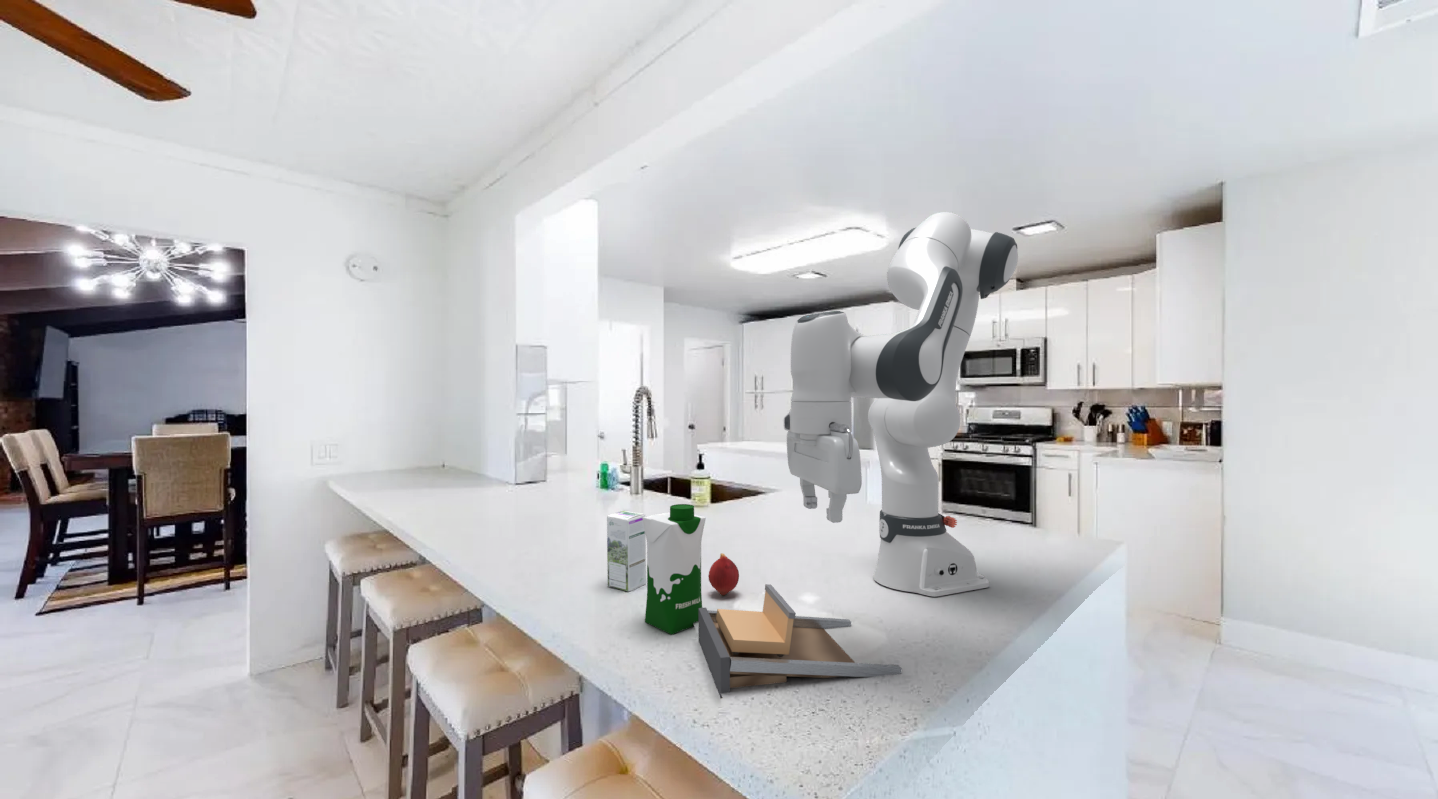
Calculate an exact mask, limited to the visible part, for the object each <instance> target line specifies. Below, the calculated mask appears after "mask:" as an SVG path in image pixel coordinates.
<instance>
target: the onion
mask: <svg viewBox="0 0 1438 799" xmlns="http://www.w3.org/2000/svg"><path fill="white" fill-rule="evenodd" d="M739 578H740V573H739V569H738V567H737V565H736V563H735V562H733V561H732V560H731V559H730V558H729V557H727V556H726V554H725V553H720V554H719V558H718V559H717V560H716V561H714V562H713V563H712V564H711V566H710V569H709V571H708V582H709V584H710V585H711V586H712V588H714V590H716V592H718V594H719V595H721V596H725V595H727V594H729V593H730V592H732V591H733V590H734V589H736V587H737V585H738V583H739Z"/></svg>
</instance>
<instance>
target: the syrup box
mask: <svg viewBox="0 0 1438 799" xmlns="http://www.w3.org/2000/svg"><path fill="white" fill-rule="evenodd" d="M642 517H646V514H645V513H641V512H635V511H628V510H622V511H621V510H620V511H617V512H614V513H611V514H609V515H606V546H607V548H606V550H607V552H606V554H607V560H606V561H607V562H606V563H607V566H606V567H607V569H606V570H607V587H608V588H613V589H616V590H621V591H625V592H631V591H634V590H637V589H639V588H640V587H643V586H645V585H647V539H646V534H645V529H644V524H643V518H642Z"/></svg>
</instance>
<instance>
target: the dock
mask: <svg viewBox="0 0 1438 799" xmlns="http://www.w3.org/2000/svg"><path fill="white" fill-rule="evenodd" d="M716 615H717V610H708V608H707V607H702V608H698V621H697V622H698V643H699V646H700V649H701V651H702V654H703V656H704V660H705V661H706V662H705V663H706V664H707V667H708V670H709V672H710V674H711V677H712V680H713V682H714V685H715V689H716V690H717V692H718V695H719V698H720V699H723V695H722V694H726V693H730V692H731V689H733V688H734V689H735V688H744V687H751V686H752V687H753V686H762V685H773V684H781V683H787V677H793V678H794V677H797V678H798V677H799V678H818V679H819V678H821V679H827V678H837V677H853V678H855V677H856V678H857V677H858V678H859V677H860V678H873V677H874V678H875V677H882V676H883V677H884V676H891V675H892V676H893V675H901V674H902V667H901V666H900V665H899V664H890V663H889V664H887V663H884V664H883V663H871V662H870V663H866V662H865V663H864V662H855V660H853V659H852V658H851V656H850V655H849V654H848V653H847V652H846V651H845V650H844V649H843V648H842V647H841V645H839V643H838V642H837V641H836V640H835V639H834V638H833V637H832V636H831V635H830V633H828V632H827V630H825V629H834V628H835V629H836V628H846V627H852V621H851V620H850V619H847V618H846V619H845V618H832V617H817V616H802V615H795V619H794V621H793V628H792V635H791V643H790V650H789V655H788V654H784V656H783V657H778V656H777V655H776V654H767V653H747V652H739V654H738V655H733V654H732V652H731V649H730V647H729V645H728V643H727V641H726V639H725V637H724V635H723V633H722V631H721V629H720V628H719V626H718V623H717V621H716Z"/></svg>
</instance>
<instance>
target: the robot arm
mask: <svg viewBox="0 0 1438 799" xmlns="http://www.w3.org/2000/svg"><path fill="white" fill-rule="evenodd" d="M1018 262H1019V252H1018V244H1017V242H1016V240H1015V239H1014V238H1013V236H1009V234H1008V235H1007V234H1005V233H1001V232H999V231H996V232H989V231H985V230H982V229H974V228H971V226H970V225H969V223H968V222H967V220H965V218H963V217H962V216H961V215H959V214H957V213H954V212H951V211H941V212H940V211H939V212H936V213H933V214H931V215H930V216H928V217H927V218H926V219H924V220H923V221H921V223H919V224H918V226H916V227H913V228H911V229H910V230H908V231H907V232H906V233H905V234H904V235H903V236H902V238H901V240H900V242H899V244H898V248H897V251H896V252H895V254H894V255H893V256H892V258H891V260H890V263H889V264H888V267H887V271H886V278H887V279H886V282H887V285H888V287H889V289H890V291H891V293H892V294H893V297H895V298H896V299H897V300H898V301H899V302H900V303H901V304H903V305H904V306H906V307H908V308H910V309H912V310H915V311H916V310H917V314H916V316H915V319H914V321H913V324H912V325H911V326H909V327H908V328H905V329H903V330H901V331H897V332H891V333H884V334H883V333H882V334H874V335H864V334H863V333H861V332H859V331H857V330H856V329H855V328H854V327H853V326H852V325H850V324H849V322H848V316H847V314H846V312H844V311H841V310H830V311H824V312H817V313H811V314H807V315H803V316H801V317H800V318H798V319H797V320H796V321H795V324H794V326H793V330H792V335H791V336H792V337H791V346H790V375H791V378H792V383H793V387H792V388H793V390H792V394H791V398H790V410H789V412H788V413H787V414H786V415H785V416H784V417H783V429H784V430H785V431H787V433H786V453H787V454H786V456H787V464H788V469H789V473H790V474H791V475H792V476H794V477H797V478H799V485H800V489H801V492H802V497H803V498H802V499H803V501H802V502H803V506H804V507H805V508H806V509H808V510H813V509H817V508H818V496H817V495H816V489H815V488H816V487H815V486H817V487H819V488H821V489H824V490H826V491H828V499H829V504H828V507H827V508H826V520H827V521H829V522H831V523H833V524H834V523H836V524H837V523H842V521H843V510H844V509H845V508H844V507H845V505H846V502H847V498H848V497H847V495H853V494H854V495H855V494H859V493H860V492H861V491H860V490H861V488H862V484H863V483H862V482H863V481H862V478H863V476H862V464H861V453H860V447H859V442H858V440H857V439H856V438H855V437H854V434H853V433H852V432H853V430H852V429H853V428H852V427H853V424H852V423H853V422H852V418H853V417H852V416H853V415H852V414H853V410H852V409H853V404H852V398H857V399H858V398H860V399H861V398H862V399H863V398H864V399H875V400H874V401H873V402H872V403H871V404H870V406H869V408H868V413H867V422H868V424H869V426H870V428H871V430H872V431H873V435H874V440H875V445H876V450H877V455H878V459H879V466H880V472H881V510H880V511H879V521H878V522H879V526H878V528H879V530H878V531H879V538H880V542H879V552H878V558H877V561H876V565H875V566H876V567H875V570H874V573H873V576H872V577H873V578H872V579H873V580H874V581H875V582H877V583H878V584H880V585H881V586H884V587H887V588H890V589H892V590H893V589H894V590H897V591H902V592H909V593H916V594H920V595H924V596H929V597H933V598H934V597H935V598H936V597H942V596H947V595H952V594H953V595H954V594H959V593H964V592H969V591H973V590H981V589H985V588H986V589H987V588H989V587H990V581H989V579H988V578H987V577H986V576H984V575H983V574H981V573H980V572H978V571H977V564H976V560H975V556H974V554H973V553H972V551H971V550H970V549H969V548H967V546H965V545H963V544H962V543H961V542H960V541H959V540H957V539H956V538H955V537H954V536H952V535H951V534H950V533H948V532H947V531H948V529H947V528H946V527H949V528H951V529H953V528H955V527H956V526H957V525H958V520H957V519H956V518H955V517H951V516H949V515H948V516H944V515H943V514H941V513H940V512H939V488H940V486H939V475H938V471H937V470H936V468H935V467H934V465H933V462H932V460H931V456H930V452H929V448H935V447H938V446H939V447H940V446H942V445H945V444H948V443H949V442H951V441H952V440H953V439H955V437H956V436H957V434H958V432H959V429H960V427H961V414H960V411H959V409H958V407H957V404H956V392H957V391H956V390H957V389H956V388H957V380H958V374H959V370H960V367H961V365H962V361H963V358H964V355H965V352H966V349H967V346H968V345H969V341H970V338H971V335H972V332H973V329H974V326H975V322H976V319H977V314H978V313H977V312H978V308H979V301H980V300H983V299H986V298H988V297H989V296H990V295H991V294H992V293H995V292H997V291H999V290H1000V289H1002V288H1003V287H1005V285H1007V284H1008V283H1009V281H1010V279H1011V278H1012V277H1013V275H1014V273H1015V272H1016V268H1017V267H1018Z"/></svg>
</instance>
